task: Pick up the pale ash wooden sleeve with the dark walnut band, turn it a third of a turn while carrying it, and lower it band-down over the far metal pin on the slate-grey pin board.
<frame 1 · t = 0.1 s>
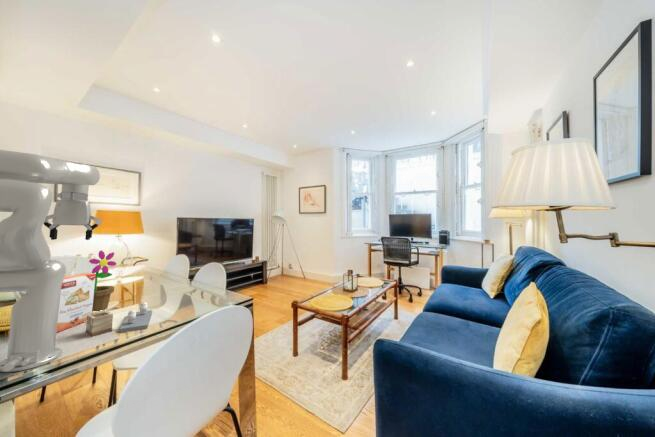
hand: (71, 239, 97), 37 cm above the table, tool pointing down, fingers open, 9 cm apart
sleeve: (98, 332, 95), on the table
flowerpot: (93, 310, 119), on the table
cracker box: (69, 326, 100), on the table
pin board: (137, 321, 107), on the table
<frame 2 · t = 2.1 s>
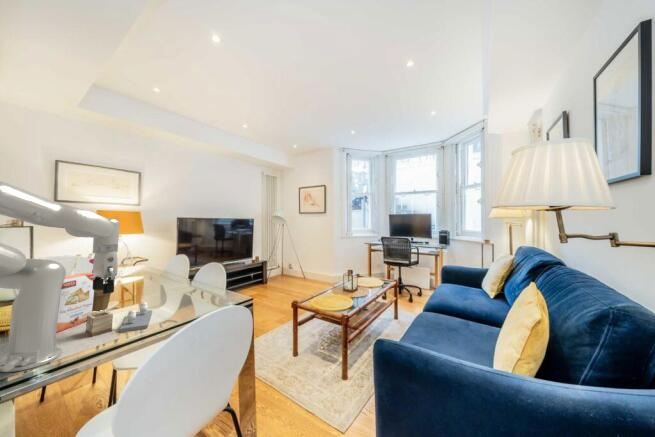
hand: (102, 291, 97), 16 cm above the table, tool pointing down, fingers open, 9 cm apart
nothing on the table moved.
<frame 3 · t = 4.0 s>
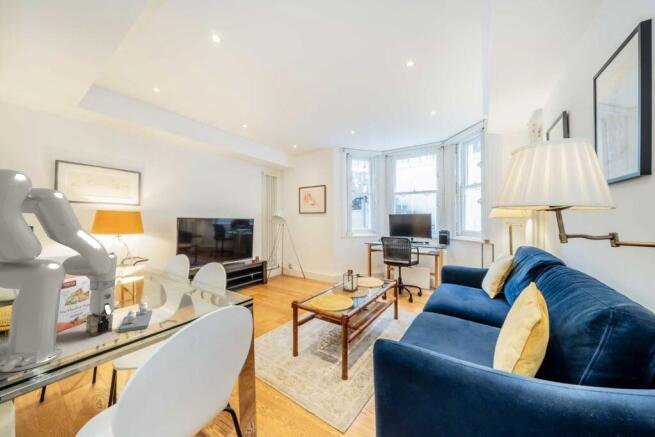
hand: (99, 329, 96), 1 cm above the table, tool pointing down, fingers closed on sleeve, 6 cm apart
sleeve: (98, 332, 96), on the table, touching gripper
everything else where it was.
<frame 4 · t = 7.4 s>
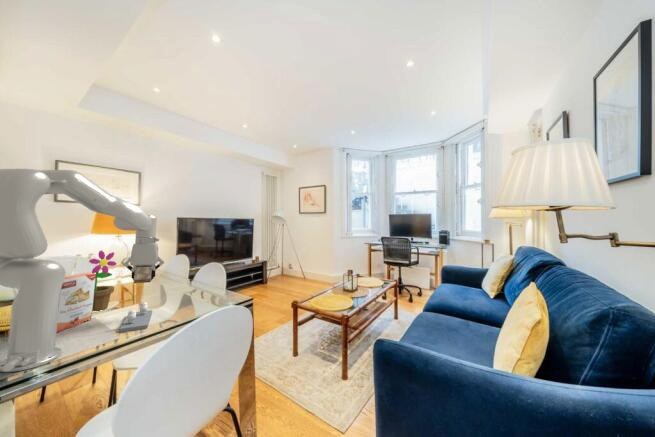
hand: (143, 279, 111), 18 cm above the table, tool pointing down, fingers closed on sleeve, 6 cm apart
sleeve: (143, 281, 111), point 17 cm above the table, touching gripper
everything else where it was.
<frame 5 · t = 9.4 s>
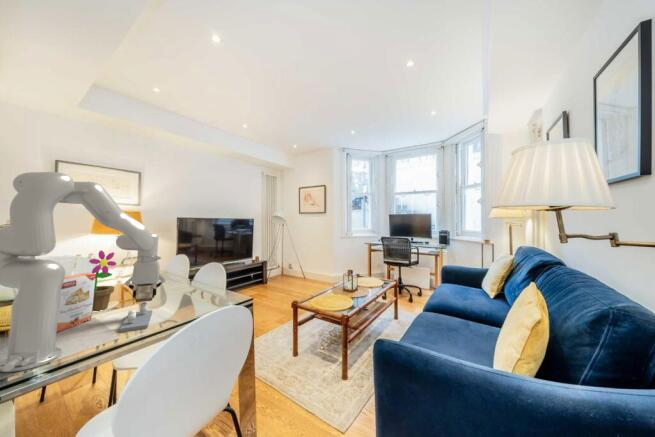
hand: (144, 297, 112), 9 cm above the table, tool pointing down, fingers closed on sleeve, 6 cm apart
sleeve: (144, 299, 112), point 8 cm above the table, touching gripper
everything else where it was.
when the fingers open (4 cm above the table, at t = 10.9 s): sleeve drops 1 cm, resting on pin board.
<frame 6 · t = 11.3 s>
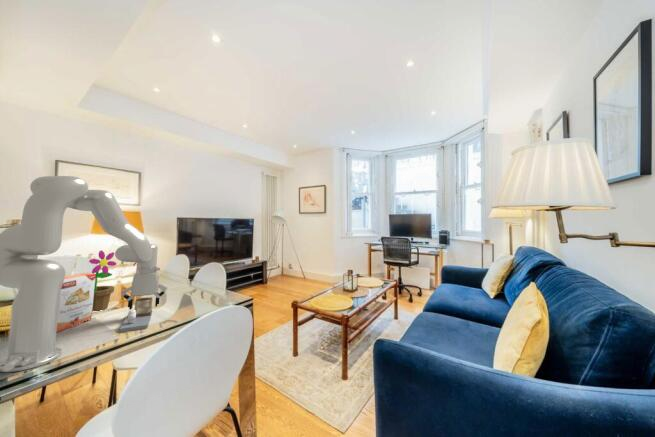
hand: (143, 307, 112), 5 cm above the table, tool pointing down, fingers open, 9 cm apart
sleeve: (143, 314, 112), point 1 cm above the table, touching pin board
everything else where it was.
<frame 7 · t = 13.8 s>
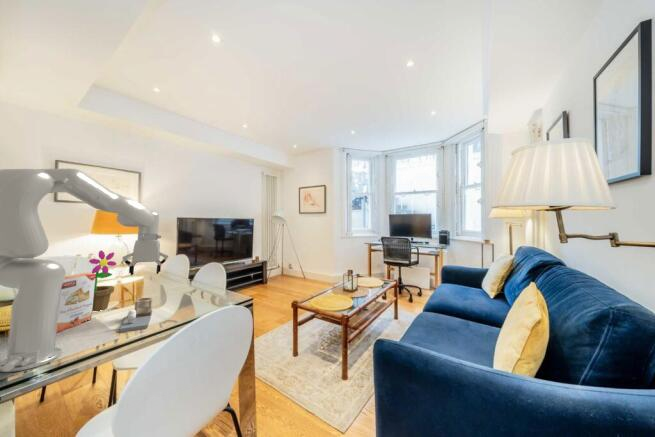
hand: (145, 274, 112), 20 cm above the table, tool pointing down, fingers open, 9 cm apart
nothing on the table moved.
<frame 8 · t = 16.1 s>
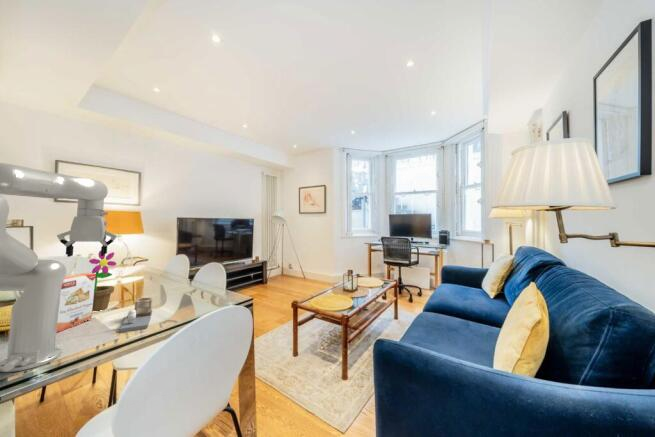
hand: (86, 255, 96), 30 cm above the table, tool pointing down, fingers open, 9 cm apart
nothing on the table moved.
at the end: sleeve 0.1 cm from the target spot on the pin board, point 1.5 cm above the pin board's base; sleeve tilted 0°; the gripper is holding nothing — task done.
